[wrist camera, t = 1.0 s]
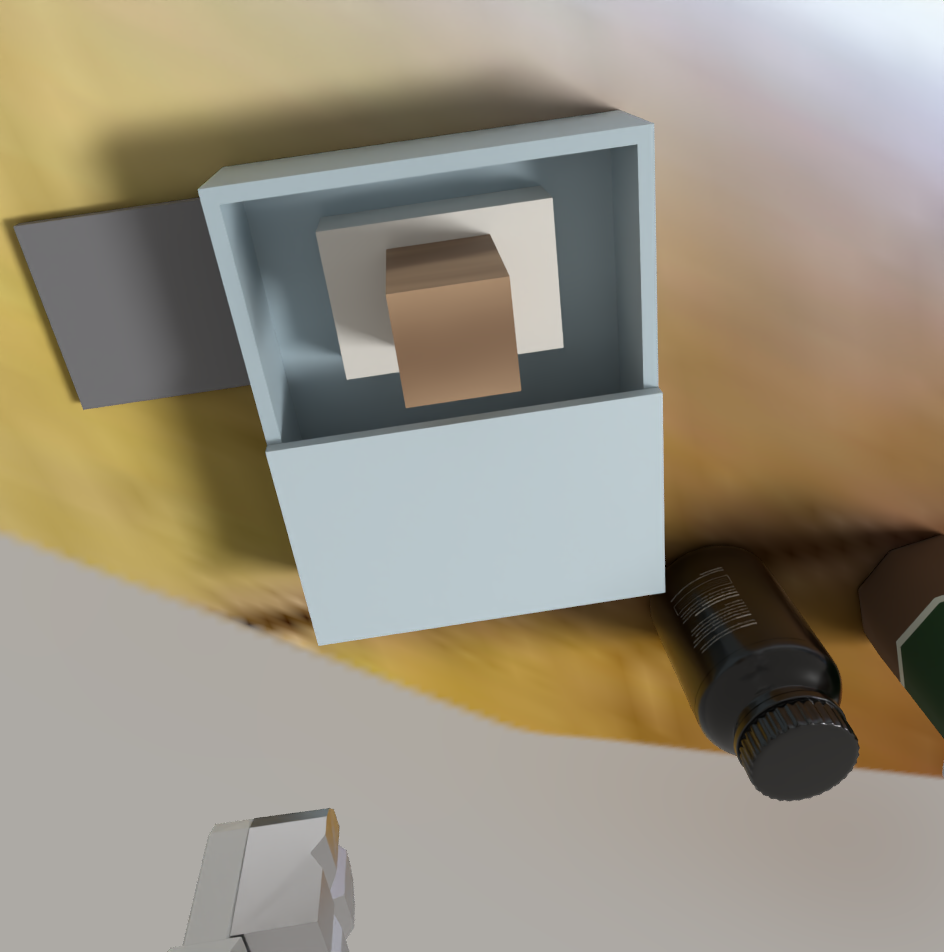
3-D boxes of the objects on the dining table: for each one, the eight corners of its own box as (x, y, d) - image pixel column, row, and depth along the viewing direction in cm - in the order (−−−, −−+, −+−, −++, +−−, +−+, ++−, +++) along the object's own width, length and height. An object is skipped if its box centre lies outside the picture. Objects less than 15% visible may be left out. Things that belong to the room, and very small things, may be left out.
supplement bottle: (643, 646, 47) (715, 826, 37) (650, 545, 44) (732, 711, 33) (761, 636, 48) (867, 810, 37) (778, 534, 44) (899, 695, 34)
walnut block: (385, 249, 32) (385, 294, 27) (489, 234, 32) (509, 276, 27) (403, 347, 34) (405, 408, 29) (501, 333, 34) (521, 390, 29)
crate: (222, 167, 33) (194, 192, 28) (619, 110, 34) (658, 125, 29) (326, 574, 43) (318, 645, 38) (633, 527, 43) (665, 592, 38)
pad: (19, 223, 34) (13, 226, 33) (216, 194, 34) (214, 197, 33) (87, 404, 38) (83, 409, 37) (265, 377, 38) (263, 383, 37)
